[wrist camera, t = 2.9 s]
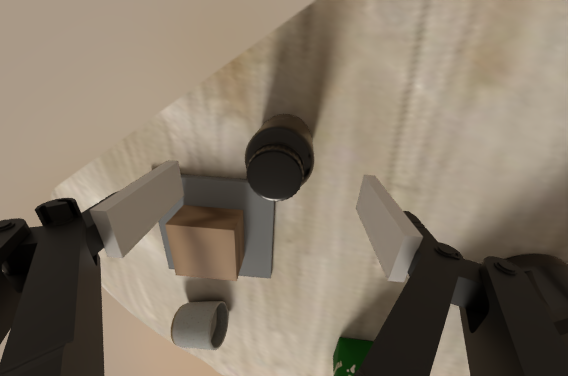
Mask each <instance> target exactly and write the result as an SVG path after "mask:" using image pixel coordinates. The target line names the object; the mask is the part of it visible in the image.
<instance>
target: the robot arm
mask: <svg viewBox="0 0 568 376" xmlns="http://www.w3.org/2000/svg"><path fill="white" fill-rule="evenodd" d="M183 196H184V193H183V187H182V181H181V174H180V168H179V162H178V161H169V160H168V161H166V162H164V163H163V164H161V165H160V166H158V167H156V168H155V169H153V170H152V171H150V172H149V173H147V174H145V175H144V176H142V177H141V178H139V179H138V180H136V181H134V182H133V183H131V184H130V185H128V186H126V187H125V188H123V189H122V190H120V191H118V192H115V193H113V194H111V195H110V196H108V197H106V198H105V199H103V200H101V201H100V202H99V203H97V204H95V205H93V206H92V207H90V208H89V209H87V210H85V211H84V212H82V213H81V212H80V209H79V207H78V205H77V202H76V200H75V199H73V198H61V199H55V200H51V201H49V202H46V203H43V204H41V205H39V206H37V208H36V209H35V211H36V213H37V215H38V217H39V219H40V221H41V223H42V225H43V226H39V227H30V228H29V227H28V225H27V223H26V221H25V220H24V219H19V218H18V219H9V220H2V221H0V344H1V342H2V341H3V339H4V338H5V336H6V335H7V333H8V332H9V330H10V328H11V330H10V333H9V336H8V340H7V343H6V346H5V349H4V352H3V355H2V359H1V362H0V376H104V352H103V327H102V326H103V324H102V296H101V268H100V257H99V255H98V252H99V251H101V250H102V249H103V248H104V249H105V251H106V254H107V256H108V257H115V258H123V257H124V256H125V255H126V254H127V253H128V252H129V251H130V250H131V249H132V248H133V247H134V246H135V245H136V244H137V243H138V242H139V241H140V240H141V239H142V238H143V237H144V236H145V235H146V234H147V233H148V232H149V231H150V230H151V229H152V228H153V226H154V225H155V224H156V223H157V222H158V221H159V220H160V219H161V218H162V217H163V216H164V215H165V214H166V213H167V212H168V211H169V210H170V209H171V208H172V207H173V206H174V205H175V204H176V203H177V202H178V201H179V200H180V199H181V198H182V197H183ZM356 210H357V212H358V215H359V217H360V219H361V221H362V224H363V226H364V228H365V230H366V233H367V235H368V237H369V239H370V242H371V244H372V246H373V248H374V251H375V253H376V255H377V257H378V260H379V262H380V264H381V266H382V269H383V271H384V273H385V275H386V278H387V280H388V281H395V282H404V281H405V278H406V276H407V274H409V276H410V278H409V280H408V281H407V283H406V285H405V287H404V289H403V290H402V292H401V294H400V296H399V298H398V299H397V301H396V303H395V305H394V307H393V308H392V310H391V312H390V314H389V316H388V317H387V319H386V321H385V323H384V325H383V327H382V328H381V330H380V332H379V334H378V336H377V337H376V339H375V341H374V343H373V345H372V346H371V348H370V350H369V352H368V354H367V355H366V357H365V359H364V361H363V363H362V364H361V366H360V368H359V369H358V370H357V371H356V372H355V374H354V375H353V376H430V372H431V369H432V365H433V362H434V359H435V355H436V352H437V348H438V345H439V341H440V338H441V335H442V331H443V328H444V324H445V321H446V317H447V314H448V311H449V307H450V304H454V305H457V306H459V308H460V315H461V321H462V327H463V333H464V339H465V345H466V351H467V357H468V364H469V370H470V376H568V265H567V264H566V263H564V262H563V261H561V260H560V259H558V258H555V257H552V256H548V255H540V254H530V255H522V256H516V257H512V258H509V259H506V260H504V259H501V258H497V257H487V258H485V259H484V261H483V262H482V264H480V263H476V262H472V261H469V260H465V259H463V256H462V255H461V254H460V252H458V251H457V250H456V249H454V248H453V247H451V246H449V245H446V244H443V243H439V242H437V240H436V239H435V238H434V237H433V236H432V234H431V233H430V232H429V231H428V230H427V229H426V228H425V226H424V225H423V224H421V222H420V220H419V219H418V218H417V217H416V216H415V215H413V214H412V213H410V212H409V211H402V209H401V208H400V207H399V206H398V204H397V203H396V202H395V201H394V199H393V198H392V197H391V196H390V194H389V193H388V192H387V190H386V189H385V188H384V187H383V185H382V184H381V183H380V182H379V180H378V179H377V178H376V176H372V175H364V176H363V181H362V185H361V189H360V193H359V198H358V202H357V206H356ZM2 270H3V271H4V272H3V271H2Z"/></svg>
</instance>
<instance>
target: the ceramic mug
mask: <svg viewBox="0 0 568 376" xmlns="http://www.w3.org/2000/svg"><path fill="white" fill-rule="evenodd" d="M227 327H228V308H227V305H226V303H225V302H224V301H207V302H190V303H186V304H184V305H182V306H181V307H180V308H179V309H178V311H177V312H176V314H175V316H174V318H173V321H172V325H171V338H172V341H173V343H174V344H175V345H177V346H180V347H184V348H196V349H207V350H217V349H218V348H219V347H220V346H221V345H222V343H223V341H224V339H225V336H226V332H227Z"/></svg>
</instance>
